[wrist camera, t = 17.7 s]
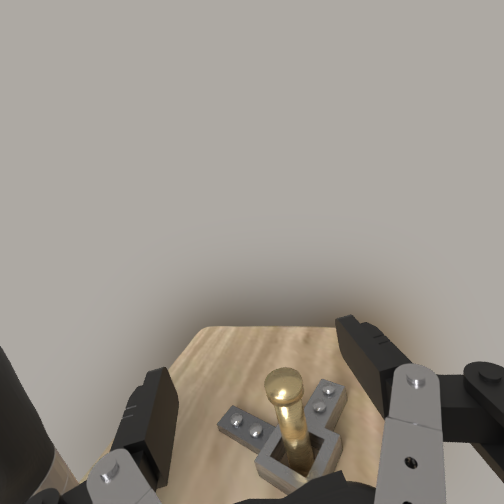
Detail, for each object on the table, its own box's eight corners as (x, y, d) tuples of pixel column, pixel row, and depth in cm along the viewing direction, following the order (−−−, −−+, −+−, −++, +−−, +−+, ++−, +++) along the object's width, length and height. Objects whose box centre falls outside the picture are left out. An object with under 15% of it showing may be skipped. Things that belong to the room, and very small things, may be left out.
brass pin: (279, 470, 38) (257, 388, 34) (295, 441, 42) (277, 363, 37) (309, 489, 36) (290, 403, 31) (324, 456, 39) (308, 374, 34)
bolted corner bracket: (209, 442, 45) (203, 426, 44) (267, 371, 56) (263, 356, 55) (316, 514, 33) (311, 494, 32) (361, 405, 45) (358, 388, 44)
